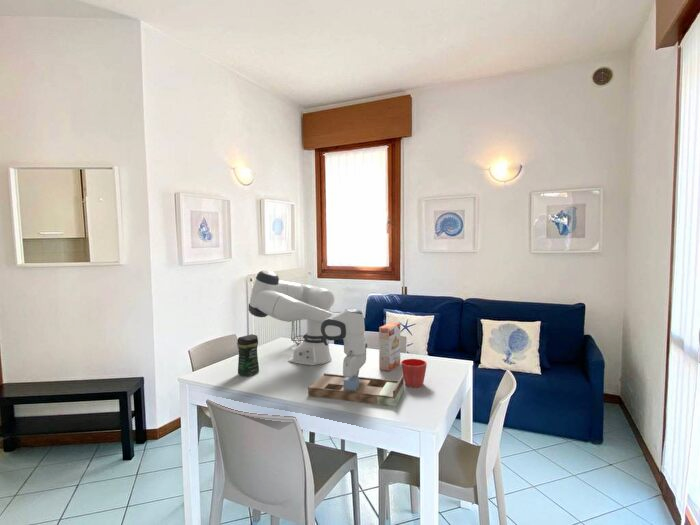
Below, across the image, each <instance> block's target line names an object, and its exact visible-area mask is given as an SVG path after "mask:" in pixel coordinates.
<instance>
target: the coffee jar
mask: <svg viewBox="0 0 700 525" xmlns="http://www.w3.org/2000/svg"><path fill="white" fill-rule="evenodd" d="M236 344H237V348H238V364H237V375H239V376H241V377H251V376H252V375H253V376H254V375H256V374H258V373H259V372H260V366H259V356H258V346H259V338H258V335H256V334H248V335H243V336H239V337H238V338H237V343H236Z"/></svg>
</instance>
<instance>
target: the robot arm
mask: <svg viewBox="0 0 700 525" xmlns="http://www.w3.org/2000/svg"><path fill="white" fill-rule="evenodd" d="M253 283H254V284H253V286H252V289H251V295H250V298H249V299H250V300H249V303H248V311H249V313H250V314H251V316H254V317H258V318H266V317H268V316H269V317H271V318H273V319H276V320H278V321H281V322H286V323H292V321H294V322H296V321H297V322H298V321H299V320H300V321H301V320H303V321H304V320H306V333H305V334H304V335H302V339H303V340H304V341H301V344H299V345H298V344H297V345H296V347H295V348H294V350H293V353H292V354H293V355H291V357H289V359H288V361H289V362H290V363H295V364H301V365H307V366H316V365H321V364H322V365H323V364H327V363H329V362H331V361H332V360H333V359H332V356H331V352H330V346H329V345H330V341H338V340H339V341H340V340H343V352H344V354H345V355H346V356H345V357H344V358H343V362H342V363H343V364H342V375H343V376H344V377H348V378H352V377H353V376H354V377H359V373H360V369H361V368H362V367H363V366H364V365H365V364H366V361H367V348H368V342H366V339H365V332H366V327H365V319H364V318H365V317H364V314H363V312H362V311H361V310H359V309H356V308H351V307H350V308H345V309H344V310H343V311H331V308H332V306H334V303H335V295H334V292H332V291H331V290H329V289H328V288H325V287H320V286H315V285H310V284H303V283H298V282H292V281H286V280H280V277H279V275H278V274H277V273H275V272H274V271H272V270H267V269H266V270H261V271H259V272H258V273H257V274H256V276H255V281H254V282H253Z"/></svg>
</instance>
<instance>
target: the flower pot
mask: <svg viewBox="0 0 700 525" xmlns="http://www.w3.org/2000/svg"><path fill="white" fill-rule="evenodd" d="M400 364H401V370H402V376H404V385H405V386H407V387H411V388H420V387H423V385H424V381H425V377H426V371H427V370H426V369H427V366H428V365H427V364H428V363H427V361H425V360H424V359H423V360H422V359H418V358H408V359H402V360H400Z"/></svg>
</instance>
